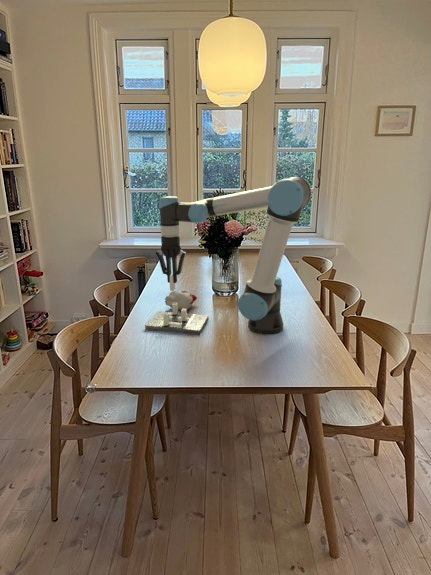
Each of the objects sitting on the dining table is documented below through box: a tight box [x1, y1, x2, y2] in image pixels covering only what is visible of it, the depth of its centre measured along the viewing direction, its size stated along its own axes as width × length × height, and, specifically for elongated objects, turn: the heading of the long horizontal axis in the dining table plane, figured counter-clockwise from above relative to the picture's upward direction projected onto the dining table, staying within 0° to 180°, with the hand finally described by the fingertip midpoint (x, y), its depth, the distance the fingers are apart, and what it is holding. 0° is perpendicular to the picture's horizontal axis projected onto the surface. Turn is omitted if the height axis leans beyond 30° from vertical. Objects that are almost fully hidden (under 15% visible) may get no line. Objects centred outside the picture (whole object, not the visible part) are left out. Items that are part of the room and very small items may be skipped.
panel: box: [144, 310, 210, 336], centre depth 175 cm, size 24×16×2 cm, turn 78°
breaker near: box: [163, 313, 170, 326], centre depth 169 cm, size 2×2×5 cm
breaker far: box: [171, 303, 179, 315], centre depth 180 cm, size 2×2×5 cm
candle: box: [164, 290, 198, 311], centre depth 192 cm, size 9×11×15 cm
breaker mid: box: [180, 308, 188, 321], centre depth 173 cm, size 2×2×5 cm
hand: (172, 289), depth 170 cm, fingers closed
